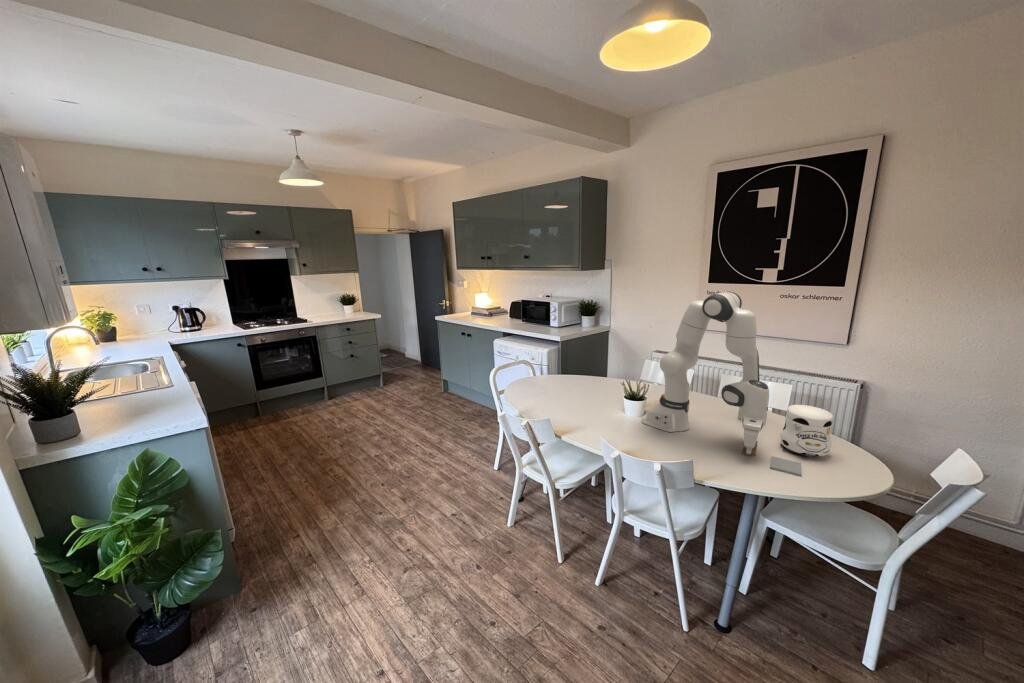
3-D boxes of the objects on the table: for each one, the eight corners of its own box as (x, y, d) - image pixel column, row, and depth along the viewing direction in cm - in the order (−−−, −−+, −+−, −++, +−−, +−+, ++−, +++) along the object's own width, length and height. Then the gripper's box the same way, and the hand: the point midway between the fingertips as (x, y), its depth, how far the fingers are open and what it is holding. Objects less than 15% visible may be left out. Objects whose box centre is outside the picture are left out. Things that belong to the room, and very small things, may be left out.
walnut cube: (741, 453, 164) (742, 442, 163) (742, 448, 168) (744, 438, 167) (755, 456, 161) (756, 445, 160) (756, 451, 165) (757, 441, 164)
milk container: (808, 463, 155) (815, 422, 151) (769, 444, 171) (775, 406, 167) (839, 456, 160) (847, 416, 156) (798, 438, 176) (804, 401, 172)
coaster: (769, 468, 152) (770, 466, 152) (771, 457, 160) (771, 455, 160) (801, 476, 146) (801, 474, 146) (800, 464, 154) (801, 463, 154)
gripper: (747, 408, 171) (743, 437, 174) (742, 425, 155) (738, 456, 158) (764, 412, 168) (760, 440, 171) (760, 429, 151) (756, 460, 154)
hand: (749, 448), depth 164 cm, fingers open, 8 cm apart
